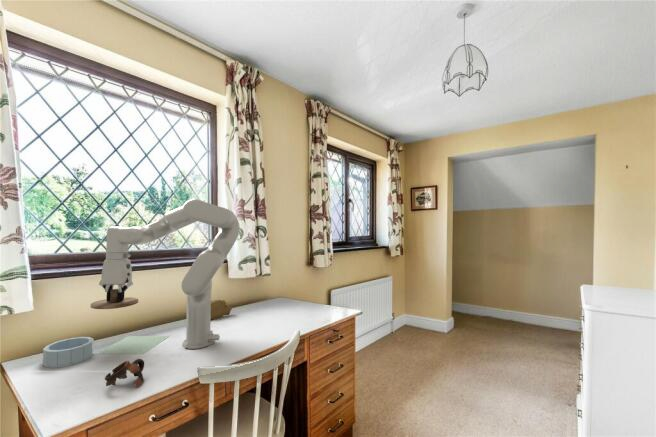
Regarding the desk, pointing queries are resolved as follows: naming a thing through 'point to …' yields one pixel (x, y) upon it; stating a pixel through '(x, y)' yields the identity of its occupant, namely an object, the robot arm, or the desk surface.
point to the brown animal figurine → (122, 369)
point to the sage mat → (134, 345)
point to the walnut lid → (114, 302)
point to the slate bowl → (68, 352)
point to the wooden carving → (219, 309)
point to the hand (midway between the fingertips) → (115, 300)
